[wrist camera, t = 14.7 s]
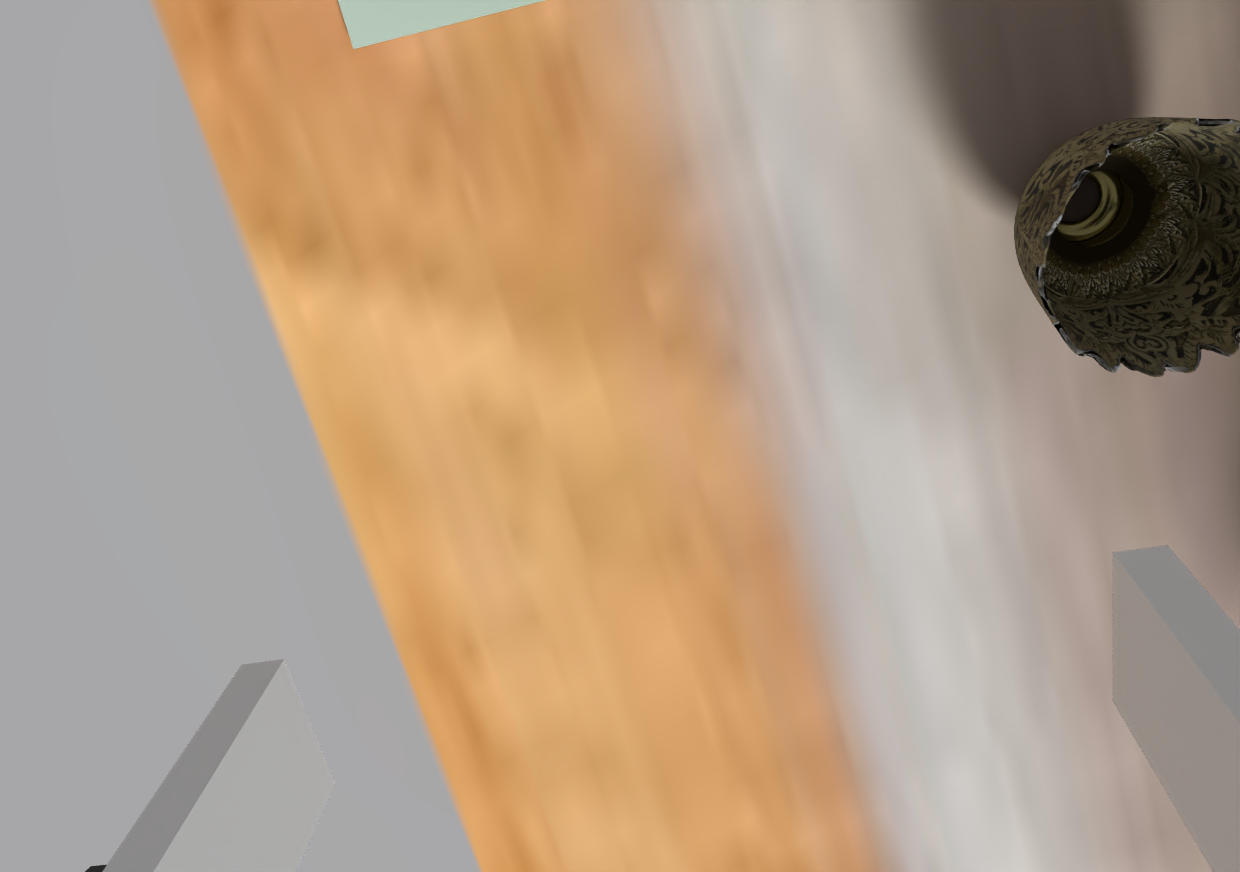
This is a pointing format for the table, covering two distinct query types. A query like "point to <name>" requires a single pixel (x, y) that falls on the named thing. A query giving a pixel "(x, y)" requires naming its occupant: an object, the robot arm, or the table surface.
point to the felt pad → (412, 16)
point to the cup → (1139, 242)
